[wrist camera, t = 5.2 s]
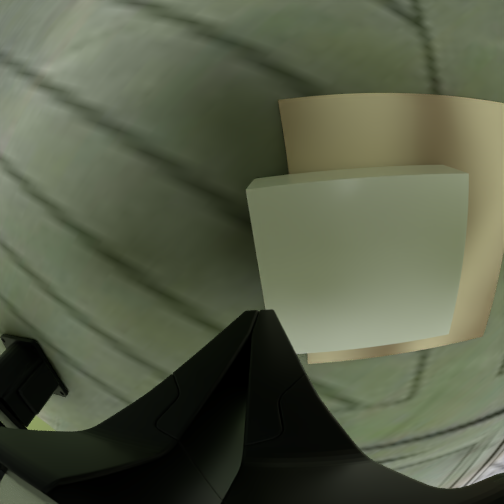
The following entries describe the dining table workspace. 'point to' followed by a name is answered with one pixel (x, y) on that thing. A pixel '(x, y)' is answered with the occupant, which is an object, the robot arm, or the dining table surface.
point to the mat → (414, 153)
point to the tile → (360, 253)
